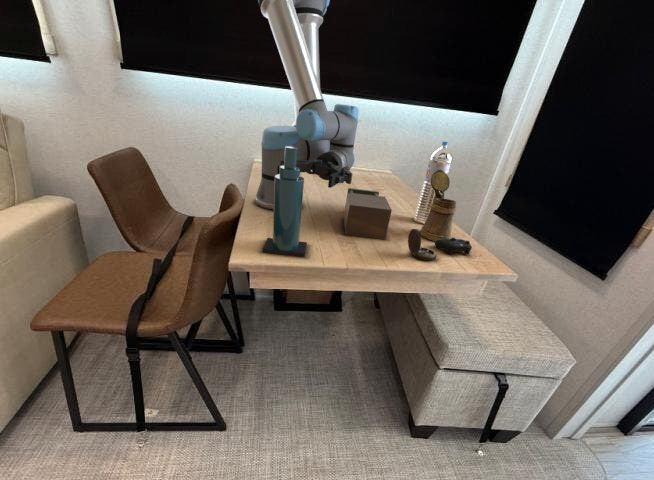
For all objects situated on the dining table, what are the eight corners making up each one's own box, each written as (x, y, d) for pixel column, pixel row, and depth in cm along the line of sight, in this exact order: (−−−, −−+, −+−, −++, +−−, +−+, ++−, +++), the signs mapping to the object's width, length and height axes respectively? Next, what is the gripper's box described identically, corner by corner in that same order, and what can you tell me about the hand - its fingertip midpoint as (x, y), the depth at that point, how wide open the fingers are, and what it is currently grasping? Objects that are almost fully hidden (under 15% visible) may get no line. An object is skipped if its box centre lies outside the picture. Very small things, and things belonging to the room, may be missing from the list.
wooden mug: (436, 227, 109) (454, 170, 99) (454, 243, 97) (476, 180, 88) (411, 225, 107) (426, 167, 98) (426, 241, 96) (446, 177, 86)
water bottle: (428, 226, 108) (453, 144, 95) (409, 220, 112) (431, 140, 98) (436, 222, 113) (460, 143, 100) (417, 216, 117) (438, 139, 103)
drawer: (344, 204, 117) (347, 184, 113) (373, 207, 117) (377, 188, 113) (346, 219, 102) (349, 197, 99) (379, 223, 103) (383, 201, 99)
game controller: (461, 242, 96) (475, 234, 90) (464, 259, 95) (479, 252, 89) (432, 241, 94) (444, 233, 88) (435, 259, 93) (447, 252, 87)
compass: (440, 261, 84) (449, 234, 80) (411, 260, 83) (419, 233, 79) (426, 248, 91) (434, 223, 87) (400, 247, 89) (406, 222, 86)
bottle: (274, 239, 82) (278, 143, 71) (299, 242, 82) (307, 147, 71) (270, 249, 77) (273, 147, 65) (297, 252, 77) (305, 151, 65)
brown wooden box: (343, 219, 105) (347, 192, 100) (379, 223, 105) (385, 196, 101) (344, 234, 93) (349, 204, 89) (385, 239, 94) (391, 209, 89)
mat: (267, 241, 83) (267, 237, 83) (306, 245, 83) (307, 242, 83) (262, 252, 77) (262, 248, 77) (304, 257, 78) (304, 253, 77)
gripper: (368, 185, 96) (350, 202, 79) (291, 171, 102) (258, 183, 85) (373, 158, 92) (355, 169, 75) (293, 144, 98) (258, 151, 81)
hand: (303, 176), depth 80 cm, fingers open, 13 cm apart
